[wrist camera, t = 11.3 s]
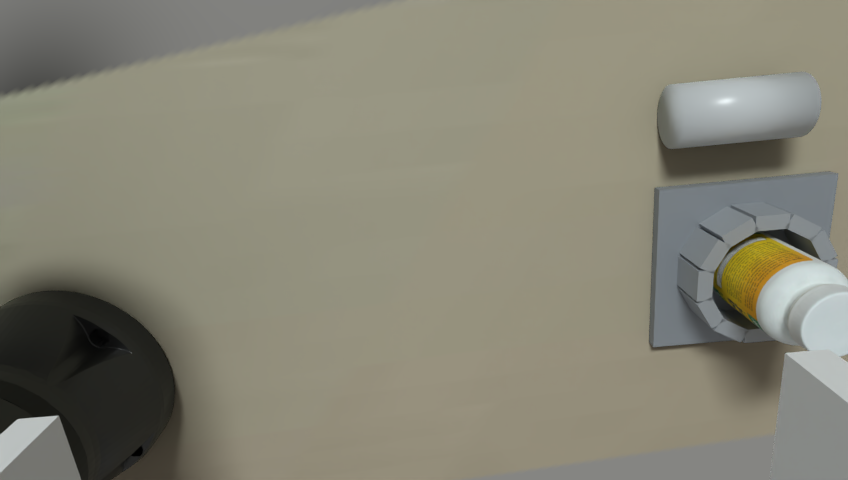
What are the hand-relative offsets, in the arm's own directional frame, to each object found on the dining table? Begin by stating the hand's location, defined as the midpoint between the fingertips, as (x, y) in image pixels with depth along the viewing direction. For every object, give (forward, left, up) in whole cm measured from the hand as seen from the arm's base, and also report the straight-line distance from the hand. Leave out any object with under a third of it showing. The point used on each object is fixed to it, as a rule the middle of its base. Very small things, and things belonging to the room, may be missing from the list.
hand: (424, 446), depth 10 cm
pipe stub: (+20, +2, -29) cm, 35 cm away
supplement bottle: (+22, -9, -28) cm, 37 cm away
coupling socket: (+22, -9, -29) cm, 37 cm away
